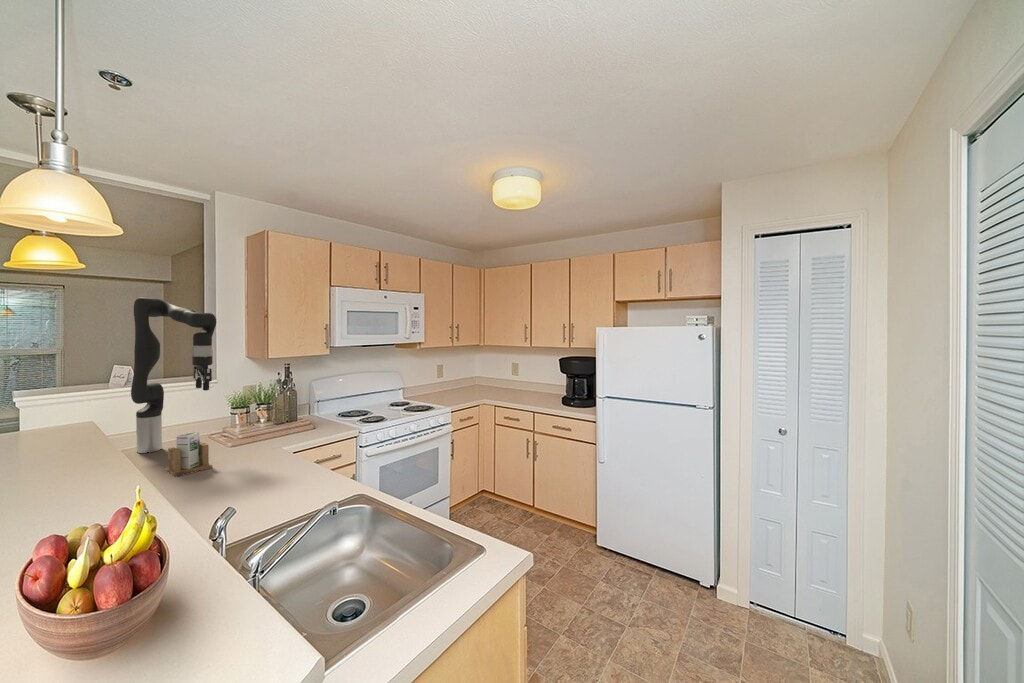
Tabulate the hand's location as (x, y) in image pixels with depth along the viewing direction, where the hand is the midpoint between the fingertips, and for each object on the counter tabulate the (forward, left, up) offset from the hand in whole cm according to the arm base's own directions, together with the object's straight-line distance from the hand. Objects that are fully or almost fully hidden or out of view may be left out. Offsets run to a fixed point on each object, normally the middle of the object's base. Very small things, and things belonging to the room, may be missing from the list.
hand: (202, 389), depth 187 cm
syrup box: (+14, -10, -32) cm, 36 cm away
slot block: (+14, -10, -32) cm, 37 cm away
